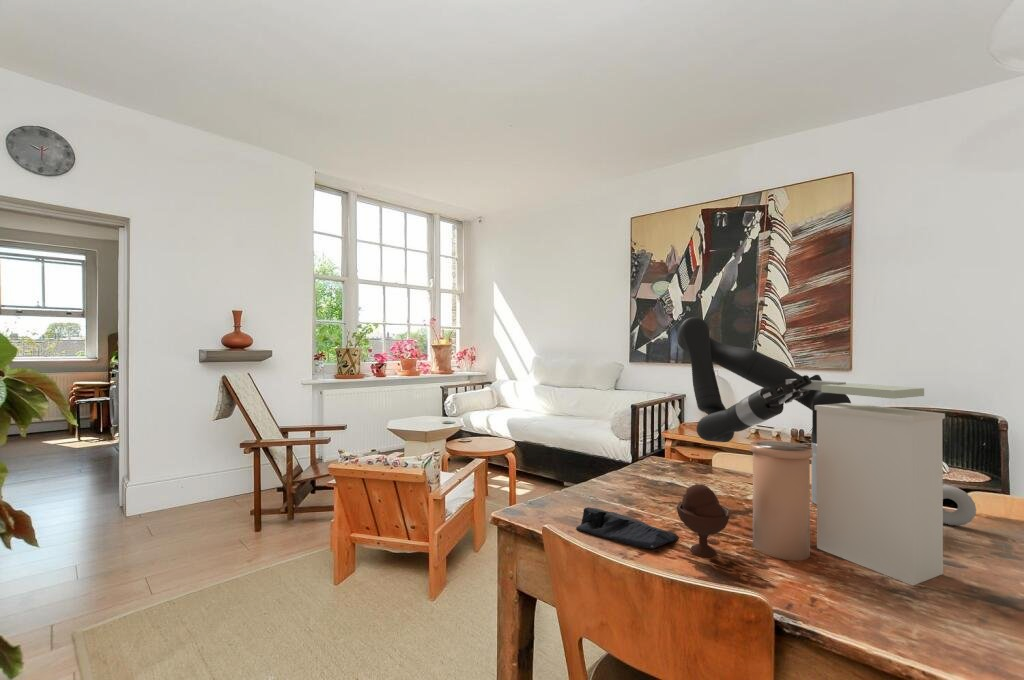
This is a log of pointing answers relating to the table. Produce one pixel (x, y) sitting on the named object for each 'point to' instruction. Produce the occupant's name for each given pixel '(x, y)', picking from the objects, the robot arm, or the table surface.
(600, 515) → the black flat lumpy piece
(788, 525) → the terracotta pot
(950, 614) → the table surface
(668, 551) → the table surface
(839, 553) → the upright grey panel box
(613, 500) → the table surface
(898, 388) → the cover
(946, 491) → the donut
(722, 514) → the ice cream bowl
